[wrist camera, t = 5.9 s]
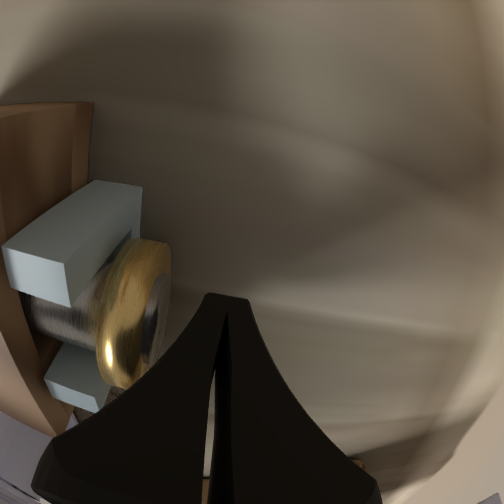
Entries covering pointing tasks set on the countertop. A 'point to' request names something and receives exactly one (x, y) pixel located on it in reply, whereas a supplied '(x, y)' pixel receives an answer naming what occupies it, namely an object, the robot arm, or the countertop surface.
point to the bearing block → (18, 217)
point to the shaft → (114, 312)
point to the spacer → (74, 271)
